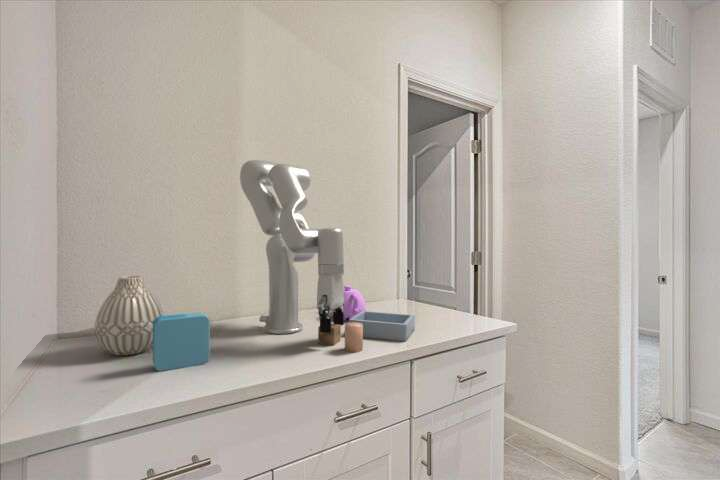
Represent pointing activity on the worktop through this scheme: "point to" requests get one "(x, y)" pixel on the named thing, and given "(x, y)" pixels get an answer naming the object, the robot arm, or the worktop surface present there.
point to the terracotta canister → (353, 337)
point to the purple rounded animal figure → (352, 303)
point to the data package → (180, 341)
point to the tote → (386, 325)
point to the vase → (127, 317)
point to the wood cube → (330, 335)
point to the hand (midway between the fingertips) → (332, 328)
